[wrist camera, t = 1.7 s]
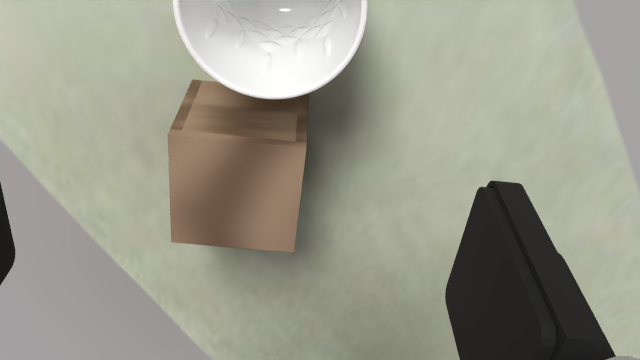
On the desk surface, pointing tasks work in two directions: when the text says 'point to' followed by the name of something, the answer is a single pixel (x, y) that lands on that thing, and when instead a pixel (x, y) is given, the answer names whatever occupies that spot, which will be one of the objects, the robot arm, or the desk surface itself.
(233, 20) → the white cup
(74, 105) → the desk surface
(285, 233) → the brown open box
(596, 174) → the desk surface
